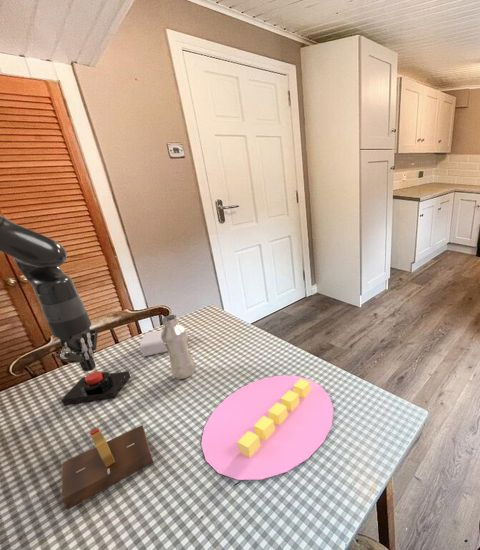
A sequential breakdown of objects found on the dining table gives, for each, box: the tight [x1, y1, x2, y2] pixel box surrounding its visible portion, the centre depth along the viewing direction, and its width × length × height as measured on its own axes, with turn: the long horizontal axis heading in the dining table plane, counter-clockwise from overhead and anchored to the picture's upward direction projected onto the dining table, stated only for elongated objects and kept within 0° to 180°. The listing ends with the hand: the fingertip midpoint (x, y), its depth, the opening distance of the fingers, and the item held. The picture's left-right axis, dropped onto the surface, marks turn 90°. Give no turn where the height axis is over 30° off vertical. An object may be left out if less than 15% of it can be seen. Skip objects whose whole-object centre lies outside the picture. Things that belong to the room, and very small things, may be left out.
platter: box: [200, 375, 334, 481], centre depth 77 cm, size 32×32×3 cm
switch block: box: [61, 370, 131, 407], centre depth 86 cm, size 12×9×4 cm
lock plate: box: [61, 424, 155, 510], centre depth 65 cm, size 14×10×3 cm
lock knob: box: [89, 427, 115, 467], centre depth 63 cm, size 6×2×6 cm, turn 52°
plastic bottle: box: [161, 314, 197, 380], centre depth 89 cm, size 6×7×20 cm
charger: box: [139, 329, 194, 358], centre depth 106 cm, size 5×9×15 cm
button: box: [84, 371, 103, 385], centre depth 85 cm, size 4×4×2 cm
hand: (90, 369), depth 84 cm, fingers closed
